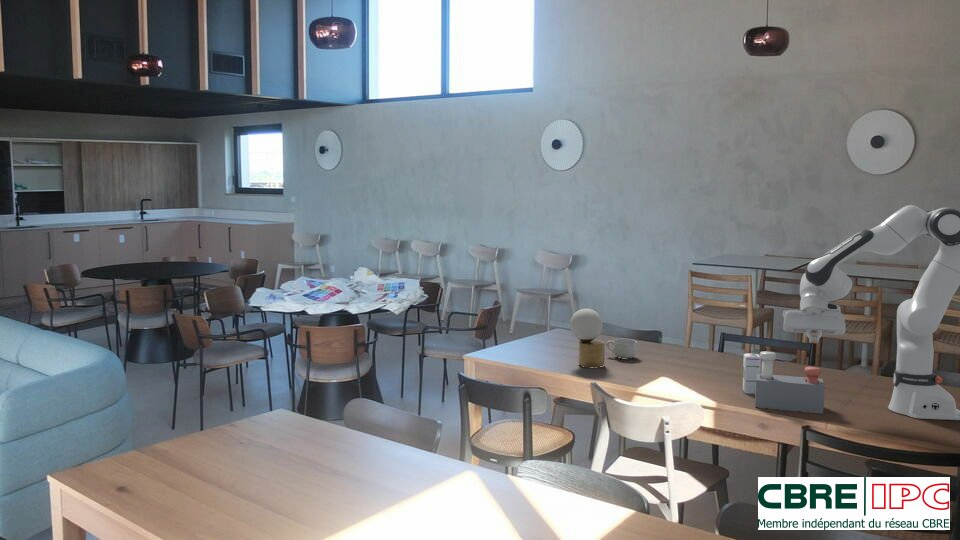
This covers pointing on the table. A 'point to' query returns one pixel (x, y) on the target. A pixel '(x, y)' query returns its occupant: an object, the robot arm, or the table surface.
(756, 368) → the syrup box
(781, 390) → the block
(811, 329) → the robot arm
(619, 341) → the teacup
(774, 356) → the grey bulb-shaped piece
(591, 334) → the lamp
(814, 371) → the red plug
